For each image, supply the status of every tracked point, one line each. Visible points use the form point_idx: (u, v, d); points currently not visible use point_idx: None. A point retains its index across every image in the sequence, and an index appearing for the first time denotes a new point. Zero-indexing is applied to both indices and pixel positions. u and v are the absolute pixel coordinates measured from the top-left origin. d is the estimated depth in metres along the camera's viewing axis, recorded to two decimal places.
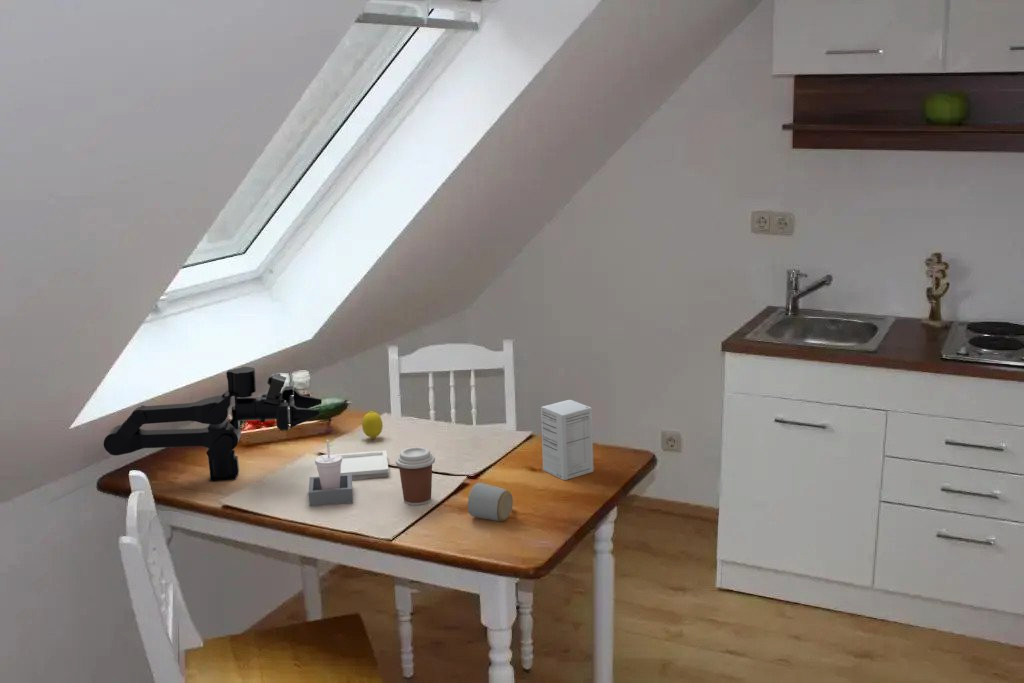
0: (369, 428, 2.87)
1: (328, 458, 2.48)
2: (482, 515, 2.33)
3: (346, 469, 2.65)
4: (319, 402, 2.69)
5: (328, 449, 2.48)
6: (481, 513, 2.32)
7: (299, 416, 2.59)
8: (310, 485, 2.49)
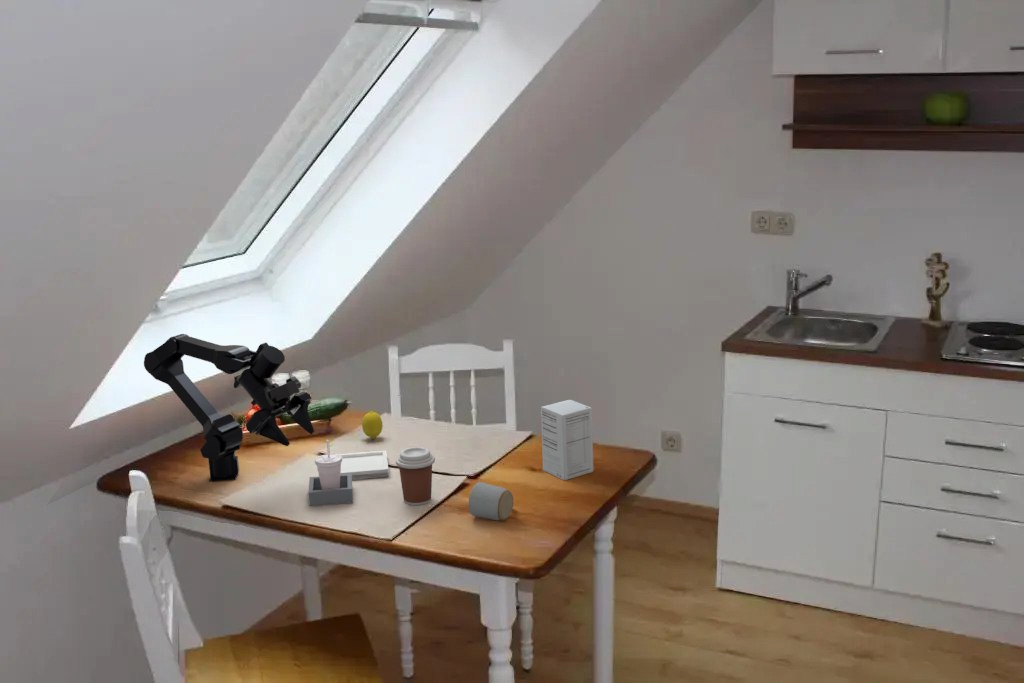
0: (369, 428, 2.87)
1: (328, 458, 2.48)
2: (483, 514, 2.33)
3: (346, 469, 2.65)
4: (310, 432, 2.55)
5: (328, 449, 2.48)
6: (481, 512, 2.33)
7: (271, 432, 2.47)
8: (310, 485, 2.49)
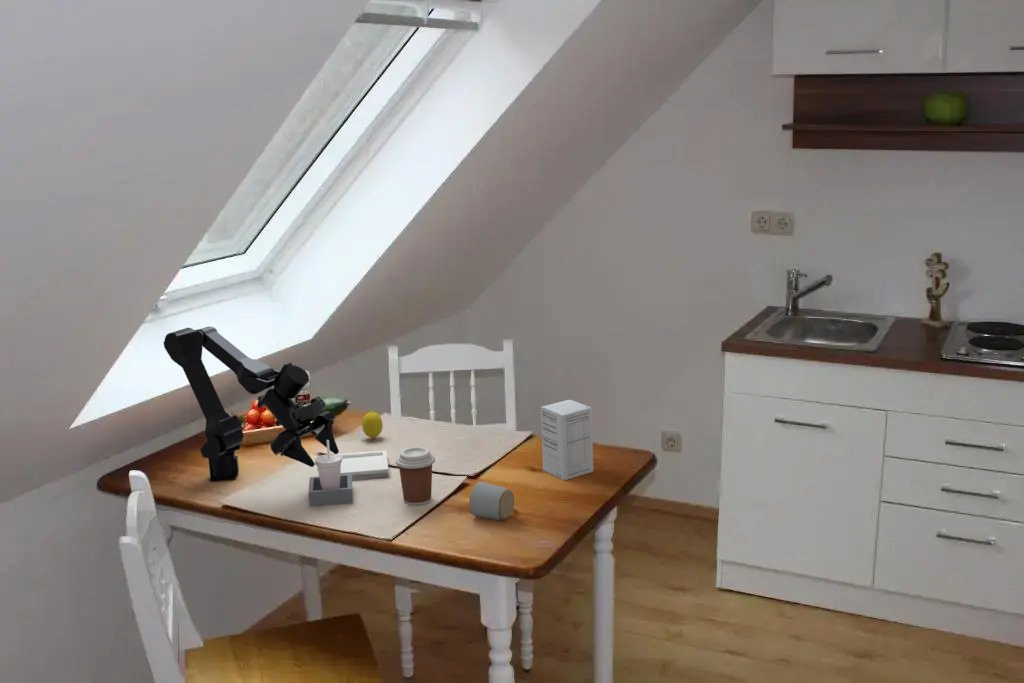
0: (369, 428, 2.87)
1: (328, 458, 2.48)
2: (483, 514, 2.33)
3: (346, 469, 2.65)
4: (335, 452, 2.53)
5: (328, 449, 2.48)
6: (482, 512, 2.33)
7: (296, 453, 2.45)
8: (310, 485, 2.49)
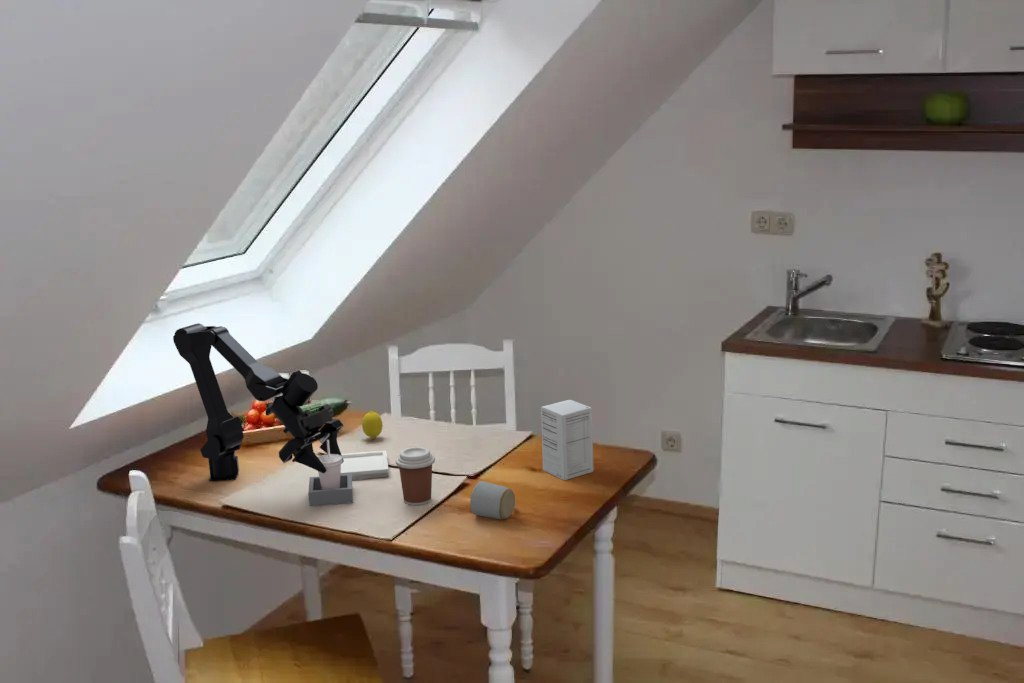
0: (369, 428, 2.87)
1: (328, 458, 2.48)
2: (484, 513, 2.34)
3: (346, 469, 2.65)
4: None
5: (328, 449, 2.48)
6: (483, 511, 2.33)
7: (307, 459, 2.46)
8: (310, 485, 2.49)
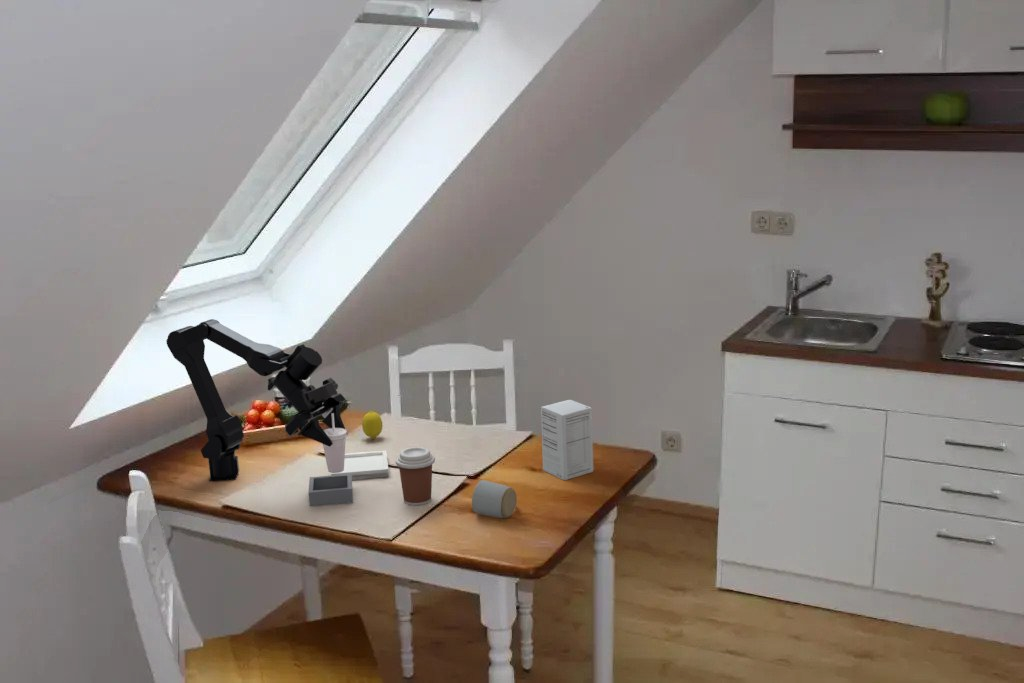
0: (369, 428, 2.87)
1: (333, 431, 2.49)
2: (486, 512, 2.34)
3: (346, 469, 2.65)
4: None
5: (333, 422, 2.49)
6: (485, 510, 2.34)
7: (313, 433, 2.46)
8: (310, 485, 2.49)
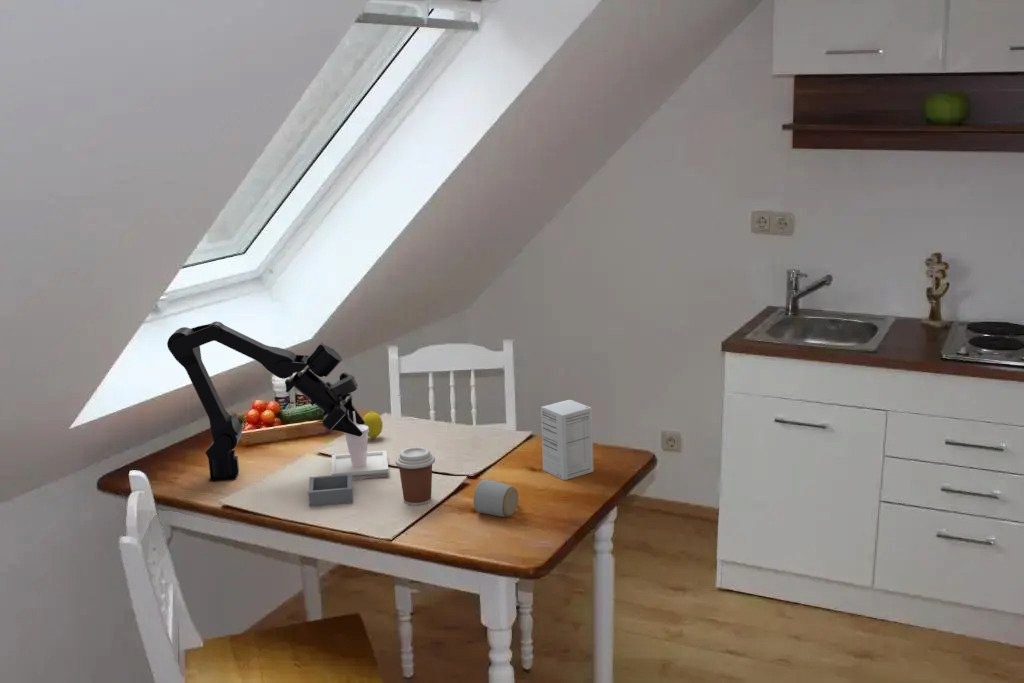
0: (369, 428, 2.87)
1: None
2: (488, 511, 2.35)
3: (346, 469, 2.65)
4: (361, 423, 2.70)
5: (355, 420, 2.65)
6: (486, 509, 2.34)
7: (344, 426, 2.59)
8: (310, 485, 2.49)
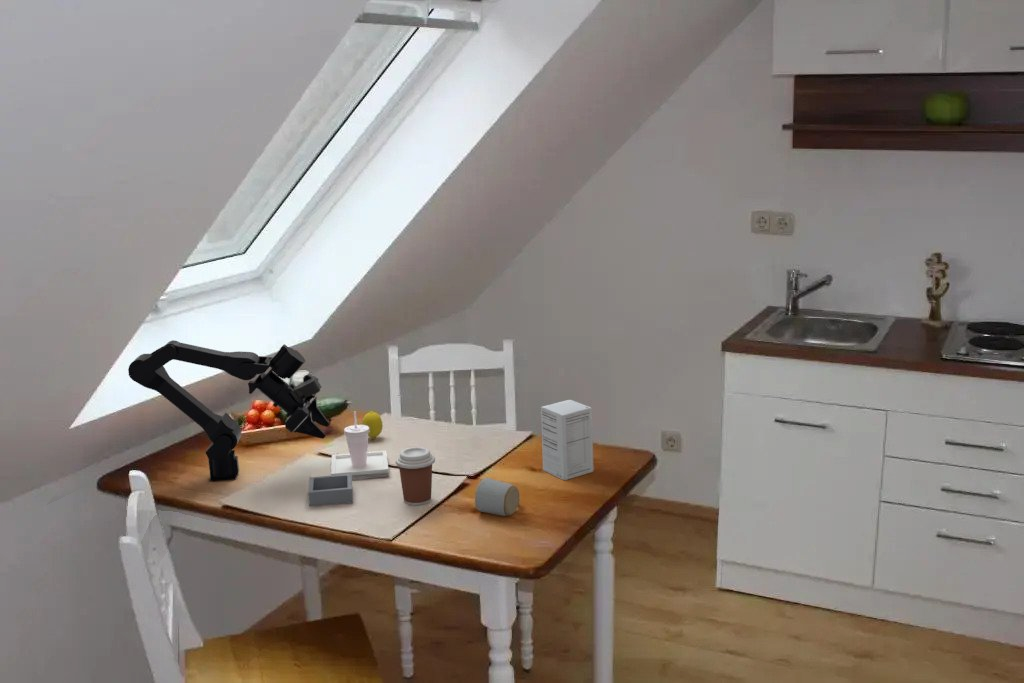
0: (369, 428, 2.87)
1: (357, 428, 2.65)
2: (489, 510, 2.35)
3: (346, 469, 2.65)
4: (326, 425, 2.69)
5: (355, 420, 2.65)
6: (488, 508, 2.35)
7: (307, 428, 2.59)
8: (310, 485, 2.49)
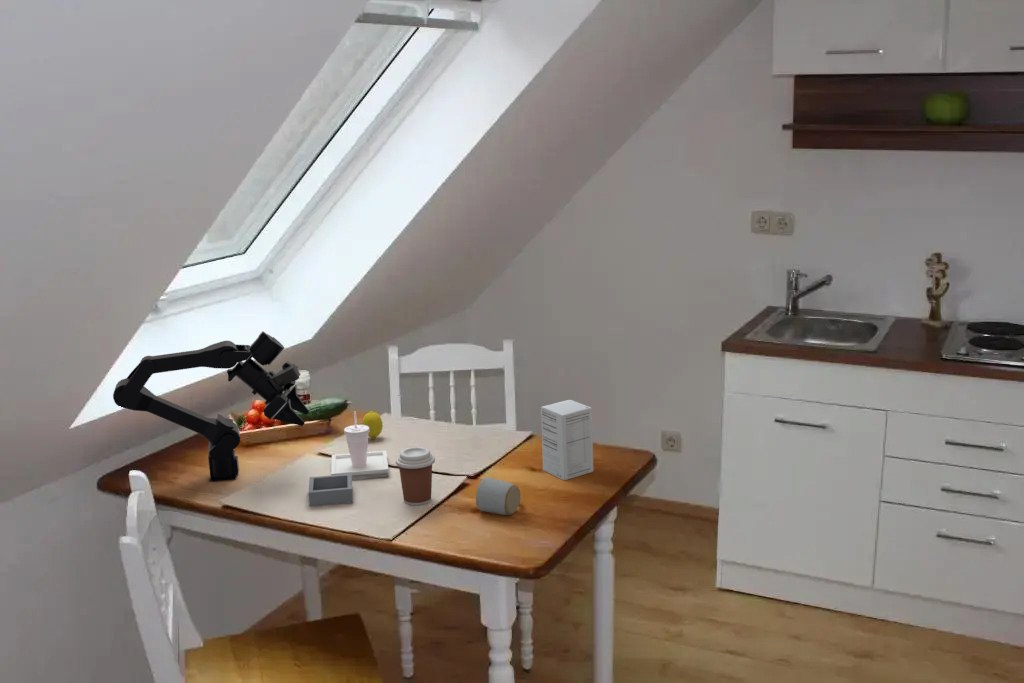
0: (369, 428, 2.87)
1: (357, 428, 2.65)
2: (490, 509, 2.36)
3: (346, 469, 2.65)
4: (305, 412, 2.70)
5: (355, 420, 2.65)
6: (489, 507, 2.35)
7: (286, 415, 2.59)
8: (310, 485, 2.49)
